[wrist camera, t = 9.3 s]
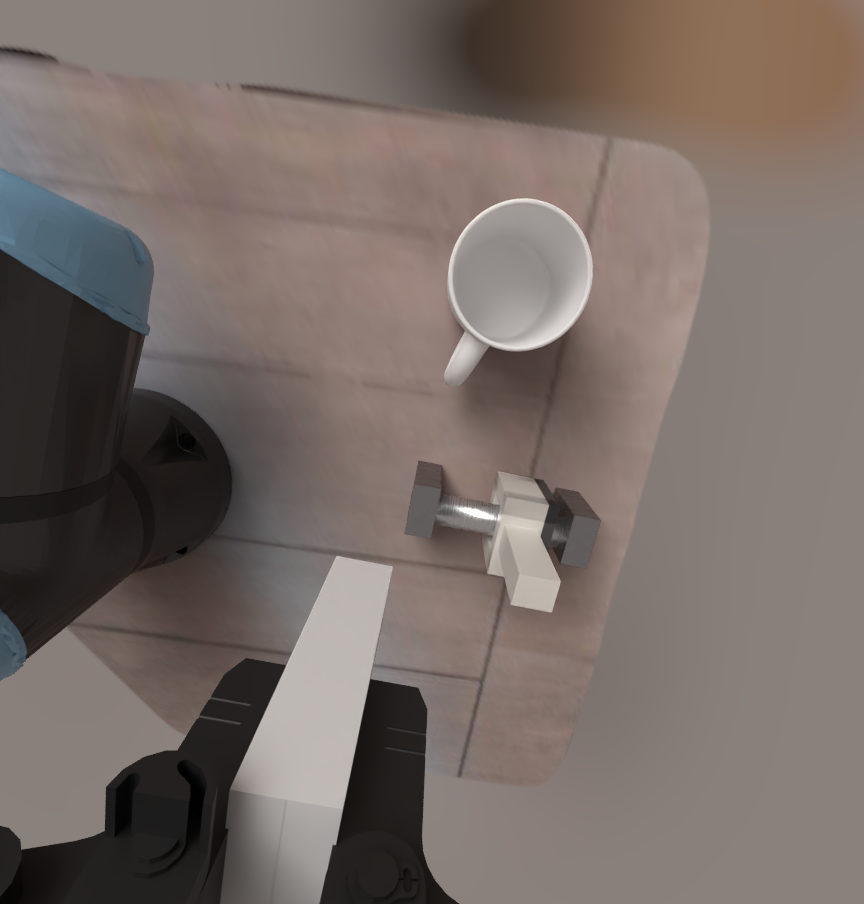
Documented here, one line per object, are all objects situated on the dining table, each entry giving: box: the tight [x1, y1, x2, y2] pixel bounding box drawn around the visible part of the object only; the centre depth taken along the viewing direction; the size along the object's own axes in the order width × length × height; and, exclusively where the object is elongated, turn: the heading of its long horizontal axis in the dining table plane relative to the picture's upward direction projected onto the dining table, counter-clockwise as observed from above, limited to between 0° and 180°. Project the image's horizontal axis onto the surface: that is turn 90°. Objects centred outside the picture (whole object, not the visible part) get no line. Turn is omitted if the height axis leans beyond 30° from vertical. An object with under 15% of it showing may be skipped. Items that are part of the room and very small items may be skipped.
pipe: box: [405, 461, 601, 569], centre depth 39 cm, size 14×4×6 cm, turn 79°
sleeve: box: [481, 471, 561, 613], centre depth 34 cm, size 4×6×13 cm, turn 169°
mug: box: [444, 199, 593, 387], centre depth 33 cm, size 12×8×10 cm
